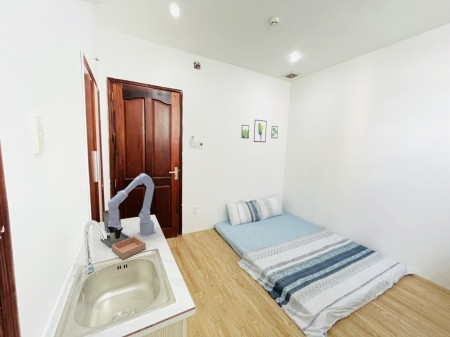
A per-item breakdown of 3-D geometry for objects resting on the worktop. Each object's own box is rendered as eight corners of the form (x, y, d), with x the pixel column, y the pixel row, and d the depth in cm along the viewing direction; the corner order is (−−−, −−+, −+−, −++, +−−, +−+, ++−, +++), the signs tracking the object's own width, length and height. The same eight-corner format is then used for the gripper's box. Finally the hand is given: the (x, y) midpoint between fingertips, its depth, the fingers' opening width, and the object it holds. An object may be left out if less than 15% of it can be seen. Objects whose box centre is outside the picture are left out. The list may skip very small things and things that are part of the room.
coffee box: (116, 227, 149) (114, 207, 147) (121, 228, 147) (120, 208, 145) (104, 232, 141) (102, 211, 139) (110, 233, 139) (108, 212, 136)
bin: (134, 241, 128) (134, 236, 127) (145, 248, 119) (145, 242, 119) (112, 251, 117) (111, 245, 116) (123, 259, 108) (122, 253, 108)
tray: (120, 234, 138) (119, 230, 138) (130, 240, 129) (130, 237, 129) (100, 241, 128) (100, 237, 128) (110, 249, 119) (110, 245, 119)
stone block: (117, 237, 132) (117, 230, 131) (121, 240, 129) (120, 233, 128) (110, 240, 128) (109, 233, 127) (113, 243, 125) (112, 235, 124)
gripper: (102, 216, 127) (104, 235, 129) (112, 222, 119) (113, 242, 121) (113, 213, 133) (115, 231, 135) (124, 218, 124) (125, 238, 126)
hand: (115, 236), depth 128 cm, fingers open, 7 cm apart
